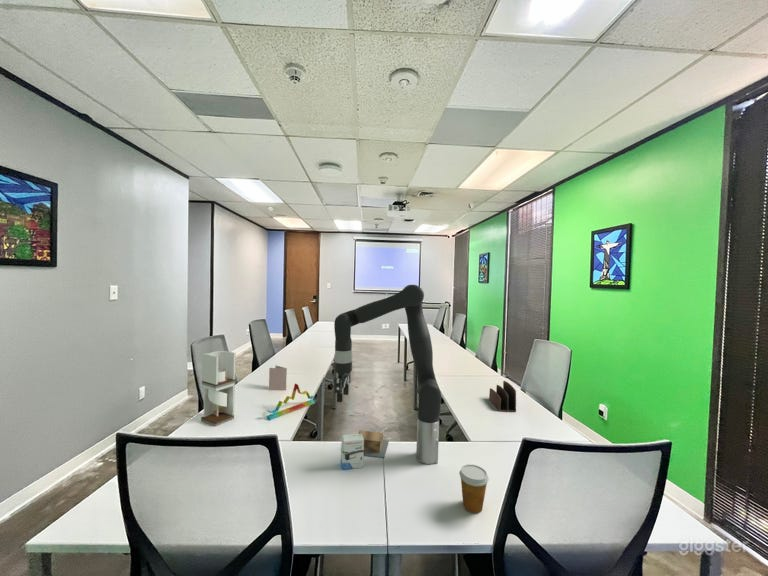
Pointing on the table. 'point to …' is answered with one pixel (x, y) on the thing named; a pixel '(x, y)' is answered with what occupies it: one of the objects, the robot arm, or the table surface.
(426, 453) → the robot arm
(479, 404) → the table surface
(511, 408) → the letter holder
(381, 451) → the pad
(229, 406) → the tiered shelf stand
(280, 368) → the greeting card
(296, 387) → the chart
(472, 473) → the disposable coffee cup
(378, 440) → the open cardboard box
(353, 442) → the ink box
